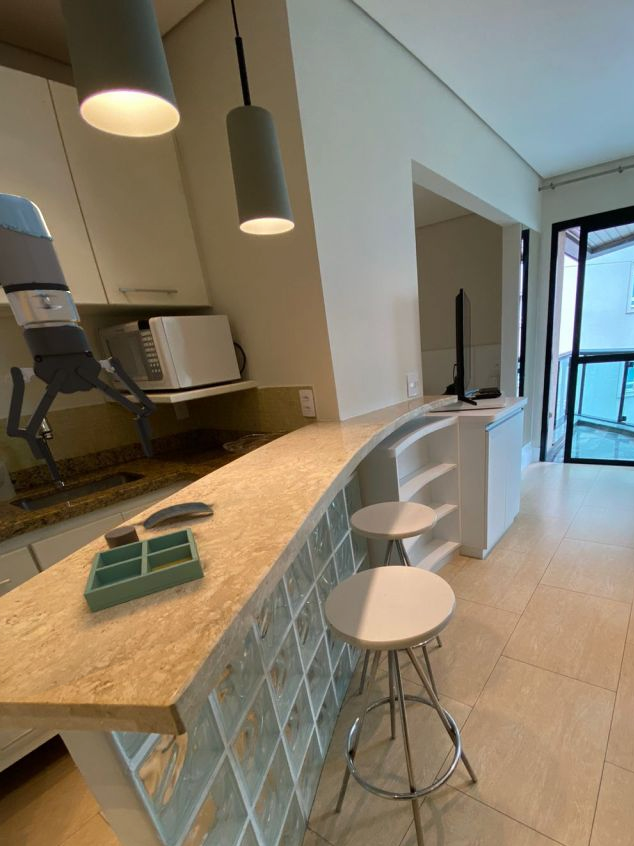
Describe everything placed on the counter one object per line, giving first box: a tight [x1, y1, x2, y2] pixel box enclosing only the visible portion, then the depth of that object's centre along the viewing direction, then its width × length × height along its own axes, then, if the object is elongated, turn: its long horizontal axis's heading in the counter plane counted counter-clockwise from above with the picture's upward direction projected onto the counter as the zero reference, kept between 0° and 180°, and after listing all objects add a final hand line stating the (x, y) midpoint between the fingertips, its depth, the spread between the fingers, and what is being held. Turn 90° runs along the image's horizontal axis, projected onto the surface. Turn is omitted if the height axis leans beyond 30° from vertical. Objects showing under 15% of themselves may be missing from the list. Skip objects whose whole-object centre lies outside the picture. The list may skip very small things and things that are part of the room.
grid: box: [83, 527, 205, 613], centre depth 67 cm, size 15×15×3 cm
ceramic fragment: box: [142, 501, 215, 530], centre depth 89 cm, size 14×5×4 cm, turn 109°
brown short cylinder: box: [103, 525, 141, 550], centre depth 76 cm, size 5×5×4 cm
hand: (106, 466), depth 68 cm, fingers open, 13 cm apart
